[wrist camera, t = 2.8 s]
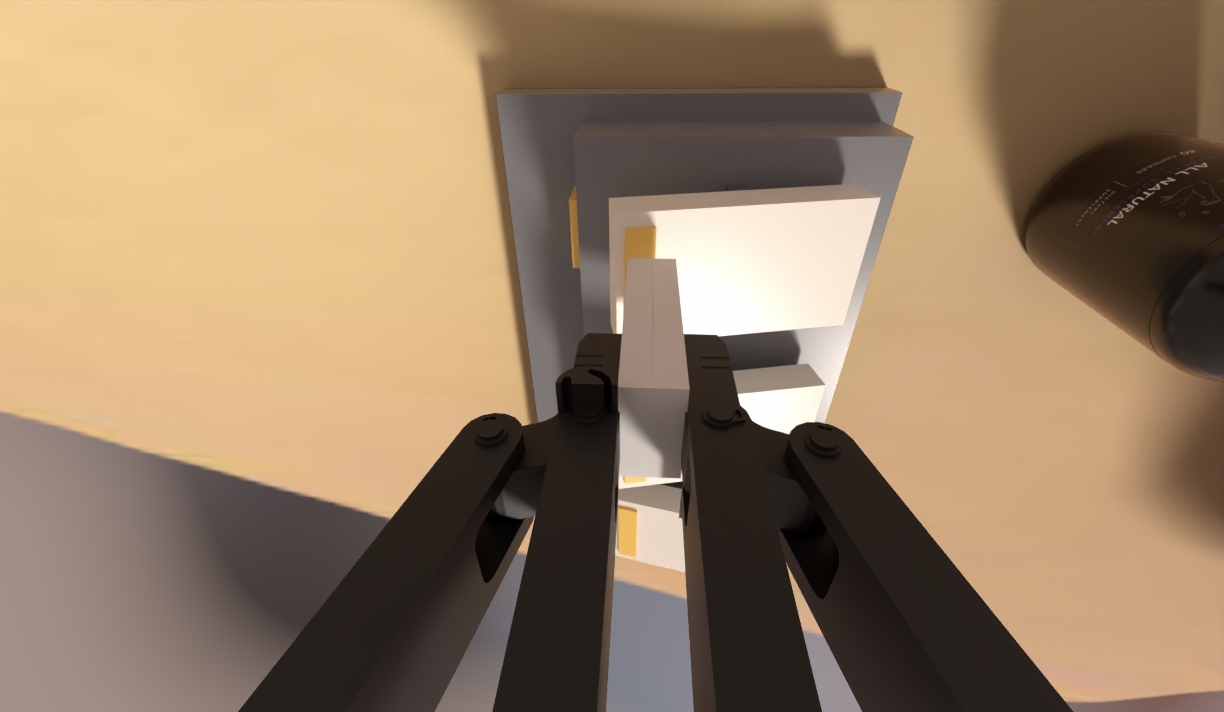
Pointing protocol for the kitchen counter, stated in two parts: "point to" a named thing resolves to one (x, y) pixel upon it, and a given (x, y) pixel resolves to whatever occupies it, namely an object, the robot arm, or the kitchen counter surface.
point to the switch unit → (677, 164)
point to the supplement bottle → (1143, 243)
